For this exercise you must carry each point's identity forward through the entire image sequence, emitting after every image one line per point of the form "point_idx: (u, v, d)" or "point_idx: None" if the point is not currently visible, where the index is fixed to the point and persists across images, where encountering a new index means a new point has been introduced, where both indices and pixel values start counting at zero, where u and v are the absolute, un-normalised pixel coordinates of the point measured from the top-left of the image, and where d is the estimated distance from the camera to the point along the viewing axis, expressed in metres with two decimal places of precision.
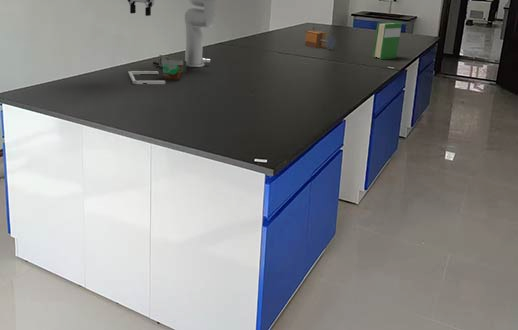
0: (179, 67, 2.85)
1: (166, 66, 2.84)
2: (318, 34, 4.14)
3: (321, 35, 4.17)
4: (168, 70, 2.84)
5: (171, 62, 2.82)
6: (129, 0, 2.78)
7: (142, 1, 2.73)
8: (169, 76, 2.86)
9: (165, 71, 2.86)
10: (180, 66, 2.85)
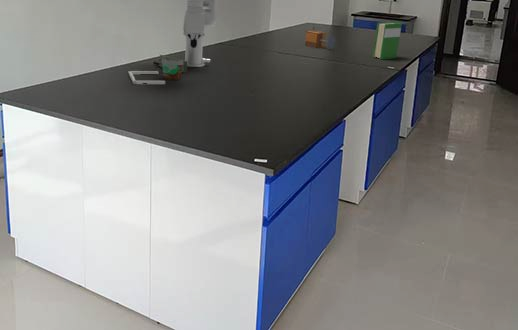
0: (179, 67, 2.85)
1: (166, 66, 2.84)
2: (318, 34, 4.14)
3: (321, 35, 4.17)
4: (168, 70, 2.84)
5: (171, 62, 2.82)
6: None
7: (200, 32, 2.82)
8: (169, 76, 2.86)
9: (165, 71, 2.86)
10: (180, 66, 2.85)
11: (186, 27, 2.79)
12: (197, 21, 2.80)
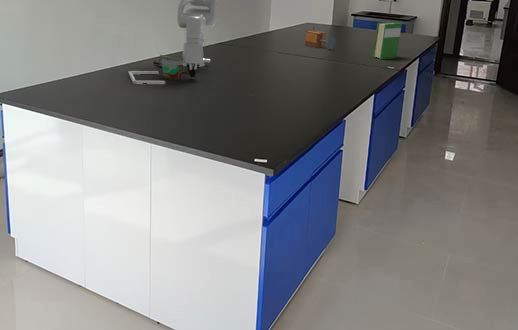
0: (179, 67, 2.85)
1: (166, 66, 2.84)
2: (318, 34, 4.14)
3: (321, 35, 4.17)
4: (168, 70, 2.84)
5: (171, 62, 2.82)
6: (188, 64, 2.88)
7: (199, 62, 2.88)
8: (169, 76, 2.86)
9: (165, 71, 2.86)
10: (180, 66, 2.85)
11: (185, 58, 2.85)
12: (195, 52, 2.85)
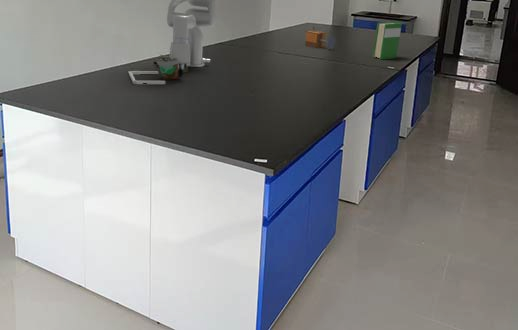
0: (175, 66, 2.83)
1: (162, 67, 2.83)
2: (318, 34, 4.14)
3: (321, 35, 4.17)
4: (165, 71, 2.83)
5: (166, 63, 2.80)
6: None
7: (186, 62, 2.86)
8: (166, 76, 2.85)
9: (162, 71, 2.85)
10: (176, 65, 2.83)
11: (172, 57, 2.82)
12: (182, 51, 2.83)
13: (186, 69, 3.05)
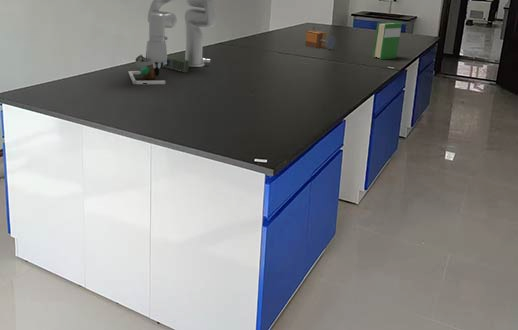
0: (149, 67, 2.78)
1: (138, 67, 2.80)
2: (318, 34, 4.14)
3: (321, 35, 4.17)
4: (141, 70, 2.81)
5: (139, 64, 2.77)
6: None
7: (163, 61, 2.81)
8: (143, 75, 2.82)
9: (140, 71, 2.83)
10: (150, 66, 2.78)
11: (148, 56, 2.78)
12: (159, 50, 2.78)
13: (187, 69, 3.05)
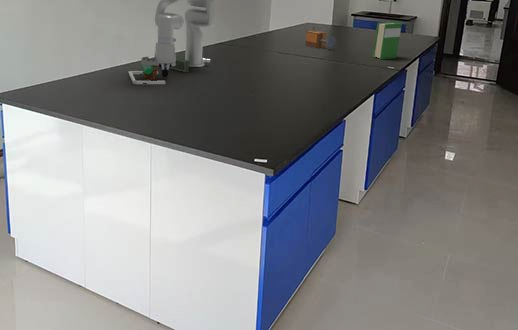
0: (154, 67, 2.80)
1: (142, 65, 2.82)
2: (318, 34, 4.14)
3: (321, 35, 4.17)
4: (144, 69, 2.82)
5: (145, 61, 2.79)
6: None
7: (171, 62, 2.84)
8: (145, 75, 2.83)
9: (142, 70, 2.83)
10: (155, 66, 2.80)
11: (157, 58, 2.81)
12: (167, 52, 2.81)
13: (187, 69, 3.06)
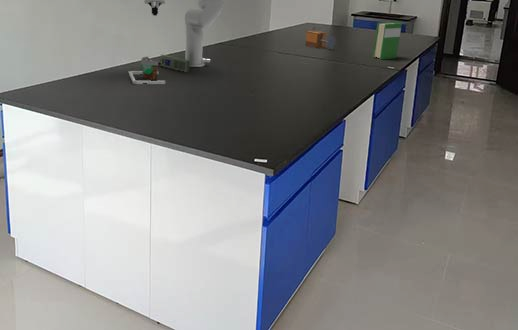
0: (154, 67, 2.80)
1: (142, 65, 2.82)
2: (318, 34, 4.14)
3: (321, 35, 4.17)
4: (144, 69, 2.82)
5: (145, 61, 2.79)
6: (150, 2, 2.96)
7: (161, 0, 2.96)
8: (145, 75, 2.83)
9: (142, 70, 2.83)
10: (155, 66, 2.80)
11: None
12: None
13: (188, 69, 3.06)
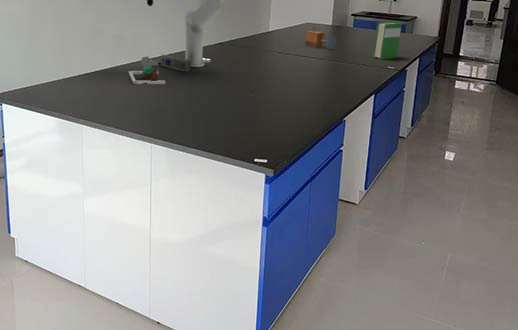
0: (154, 67, 2.80)
1: (142, 65, 2.82)
2: (318, 34, 4.14)
3: (321, 35, 4.17)
4: (144, 69, 2.82)
5: (145, 61, 2.79)
6: None
7: None
8: (145, 75, 2.83)
9: (142, 70, 2.83)
10: (155, 66, 2.80)
11: None
12: None
13: (188, 68, 3.07)
